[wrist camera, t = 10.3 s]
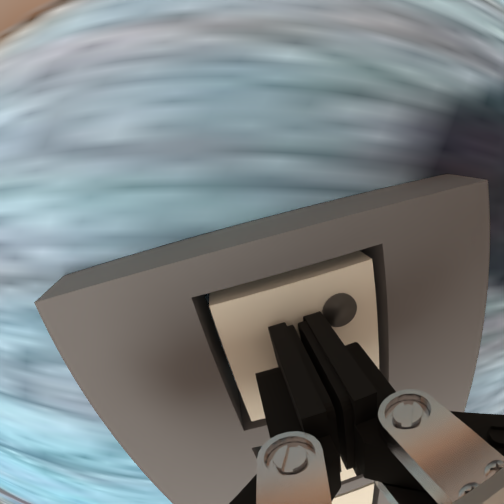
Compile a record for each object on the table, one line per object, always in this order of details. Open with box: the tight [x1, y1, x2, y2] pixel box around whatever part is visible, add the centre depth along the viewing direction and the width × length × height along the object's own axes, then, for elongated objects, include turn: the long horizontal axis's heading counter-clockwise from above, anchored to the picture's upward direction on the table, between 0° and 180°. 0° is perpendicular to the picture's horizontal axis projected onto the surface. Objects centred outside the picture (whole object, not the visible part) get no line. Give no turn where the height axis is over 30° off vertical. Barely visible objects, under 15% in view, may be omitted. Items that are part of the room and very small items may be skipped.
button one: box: [332, 482, 374, 504], centre depth 15 cm, size 5×5×2 cm
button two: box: [209, 251, 379, 421], centre depth 11 cm, size 5×5×2 cm
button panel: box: [34, 174, 490, 504], centre depth 13 cm, size 16×22×2 cm
